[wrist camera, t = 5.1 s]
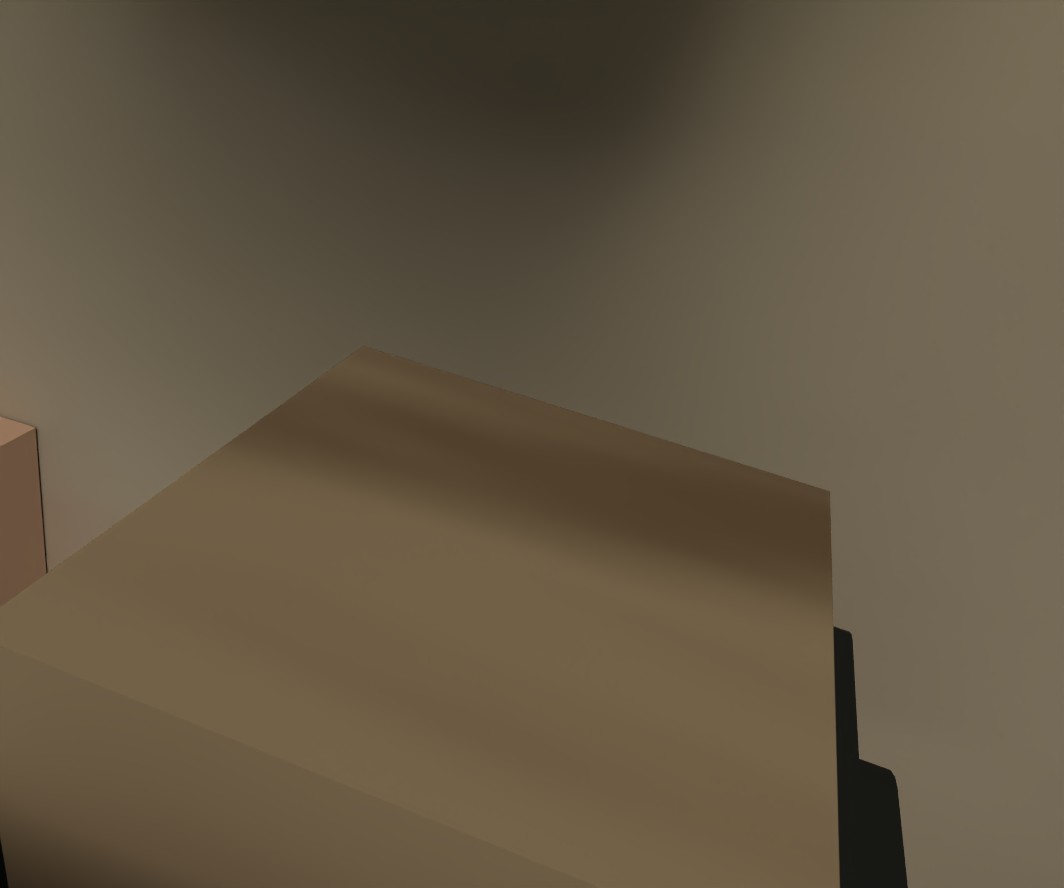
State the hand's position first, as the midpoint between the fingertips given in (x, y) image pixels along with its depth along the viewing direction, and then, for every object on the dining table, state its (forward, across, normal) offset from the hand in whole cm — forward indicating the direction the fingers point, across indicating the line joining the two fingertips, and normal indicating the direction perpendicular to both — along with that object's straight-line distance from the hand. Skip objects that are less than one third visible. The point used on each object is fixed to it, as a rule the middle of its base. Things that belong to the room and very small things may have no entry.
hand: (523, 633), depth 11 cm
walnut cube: (+1, 0, 0) cm, 1 cm away
